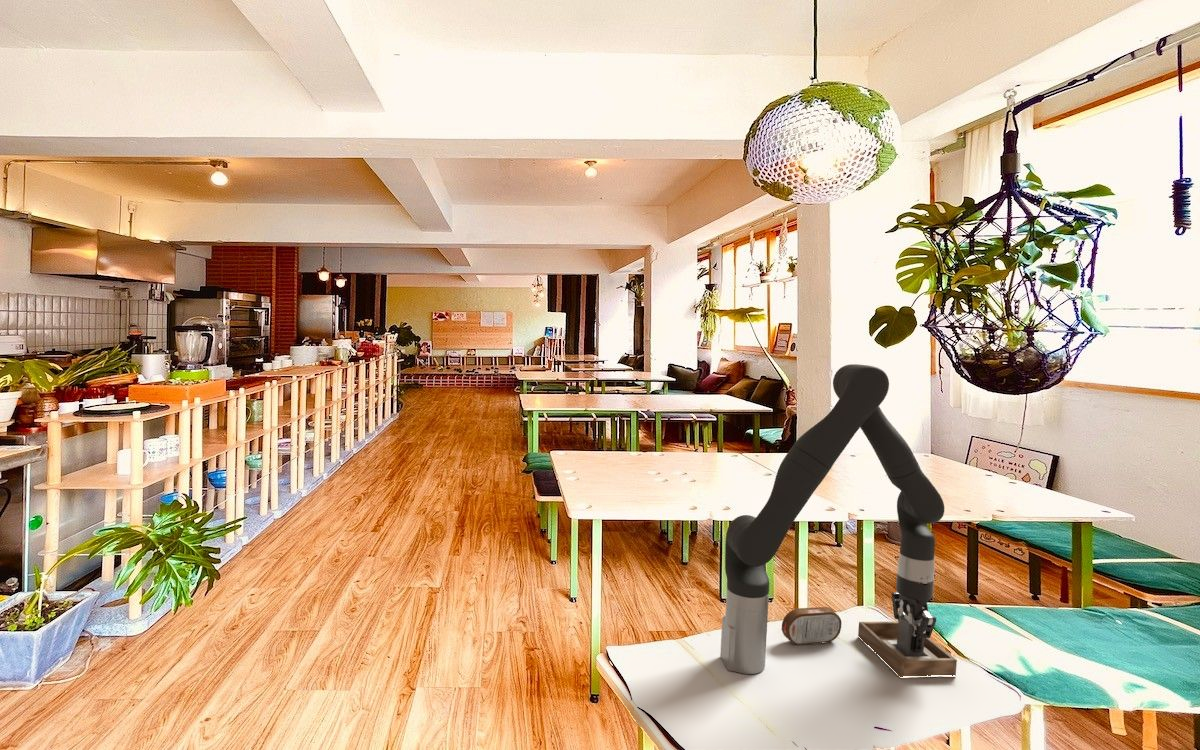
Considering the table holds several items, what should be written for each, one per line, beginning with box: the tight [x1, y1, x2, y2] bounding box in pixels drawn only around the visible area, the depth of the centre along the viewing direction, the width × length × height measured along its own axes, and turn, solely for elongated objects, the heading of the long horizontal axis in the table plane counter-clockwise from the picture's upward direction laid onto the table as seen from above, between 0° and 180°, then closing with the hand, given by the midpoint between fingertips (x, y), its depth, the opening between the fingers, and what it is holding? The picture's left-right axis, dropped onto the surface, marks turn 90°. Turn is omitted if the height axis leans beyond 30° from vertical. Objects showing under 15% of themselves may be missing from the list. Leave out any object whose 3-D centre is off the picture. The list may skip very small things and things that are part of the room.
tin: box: [781, 606, 842, 646], centre depth 148 cm, size 15×3×8 cm, turn 102°
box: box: [857, 621, 958, 677], centre depth 143 cm, size 13×18×4 cm
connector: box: [897, 614, 925, 657], centre depth 141 cm, size 4×4×9 cm
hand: (909, 646), depth 141 cm, fingers closed on connector, 4 cm apart
